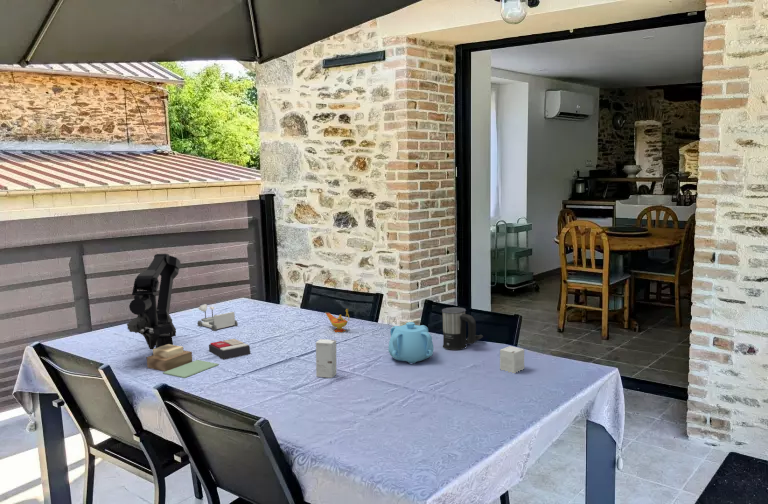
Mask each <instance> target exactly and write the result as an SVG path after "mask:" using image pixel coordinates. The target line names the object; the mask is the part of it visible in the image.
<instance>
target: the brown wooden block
mask: <svg viewBox="0 0 768 504" xmlns="http://www.w3.org/2000/svg"><path fill="white" fill-rule="evenodd" d="M183 352H184V353H182V354H179V355H177V356H174V357H171V358H164V357H159V356H154V355H153V354H152V355H149V356H146V364H147V368H148V369H152V370H156V371H160V372H161V371H162V372H165V371H168V370H171V369H174V368H176V367H179V366H182V365H185V364H187V363H190V362H193V354H192V353H193V352H192V351H190V350H184V349H183Z"/></svg>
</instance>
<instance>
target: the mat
mask: <svg viewBox="0 0 768 504" xmlns="http://www.w3.org/2000/svg"><path fill="white" fill-rule="evenodd" d="M219 365H220V363H215V362H211V361H205V360H201V359H196V360H192V362H190V363H187V364H185V365H182V366H179V367H176V368H174V369H171V370H168V371H162V374H163V375H167V376H173V377H178V378H182V379H186V378H189V377H191V376H193V375H194V376H195V375H196V374H199V373H203V372H204V371H207V370H210V369H212V368H214V367H218V366H219Z"/></svg>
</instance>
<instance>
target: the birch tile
mask: <svg viewBox="0 0 768 504" xmlns="http://www.w3.org/2000/svg"><path fill="white" fill-rule="evenodd" d="M183 350H184V346H183V345H175V344H173V345H170V344H167V345H164V346H161V347H158V348H156V347H154V349H152V355H154V356H159V357H164V358H171V357H174V356H177V355H179V354H182V353H184V352H183Z"/></svg>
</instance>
